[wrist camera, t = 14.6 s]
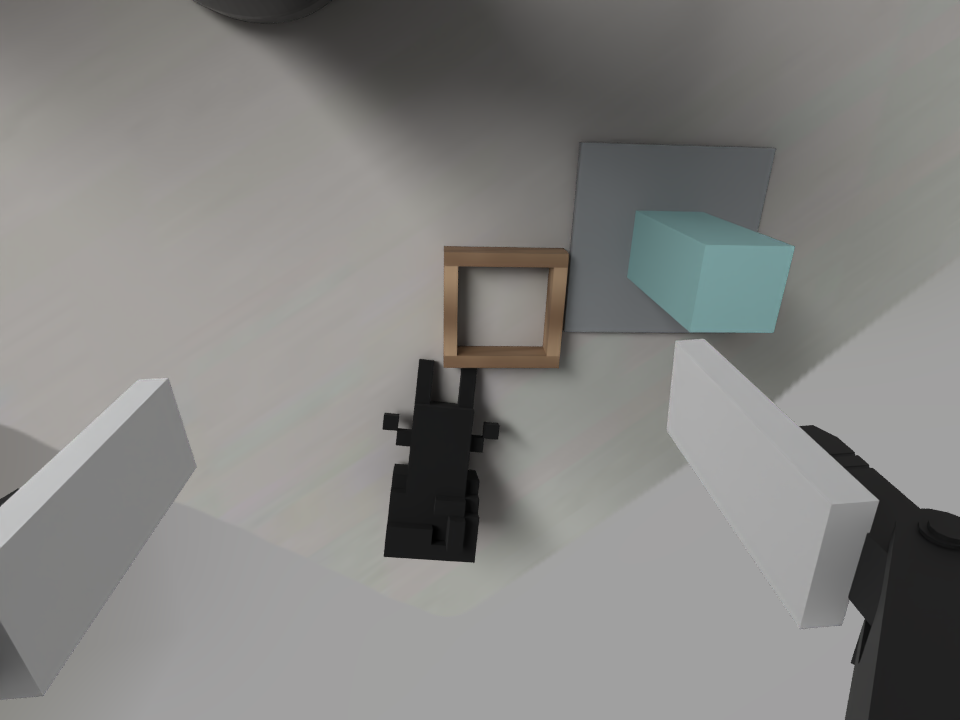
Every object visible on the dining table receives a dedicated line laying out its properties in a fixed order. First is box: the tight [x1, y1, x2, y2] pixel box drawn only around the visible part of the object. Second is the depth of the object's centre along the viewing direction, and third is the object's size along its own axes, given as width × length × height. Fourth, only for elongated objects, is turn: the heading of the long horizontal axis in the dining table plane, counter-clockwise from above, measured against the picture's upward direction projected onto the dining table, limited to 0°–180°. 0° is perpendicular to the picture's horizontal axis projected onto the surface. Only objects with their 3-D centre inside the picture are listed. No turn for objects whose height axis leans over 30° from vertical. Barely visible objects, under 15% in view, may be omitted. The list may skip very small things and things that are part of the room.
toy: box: [383, 359, 500, 563], centre depth 46 cm, size 9×8×15 cm
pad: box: [563, 142, 776, 333], centre depth 43 cm, size 14×14×1 cm
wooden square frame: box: [444, 246, 569, 368], centre depth 44 cm, size 9×9×2 cm
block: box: [627, 211, 795, 333], centre depth 37 cm, size 5×5×12 cm
